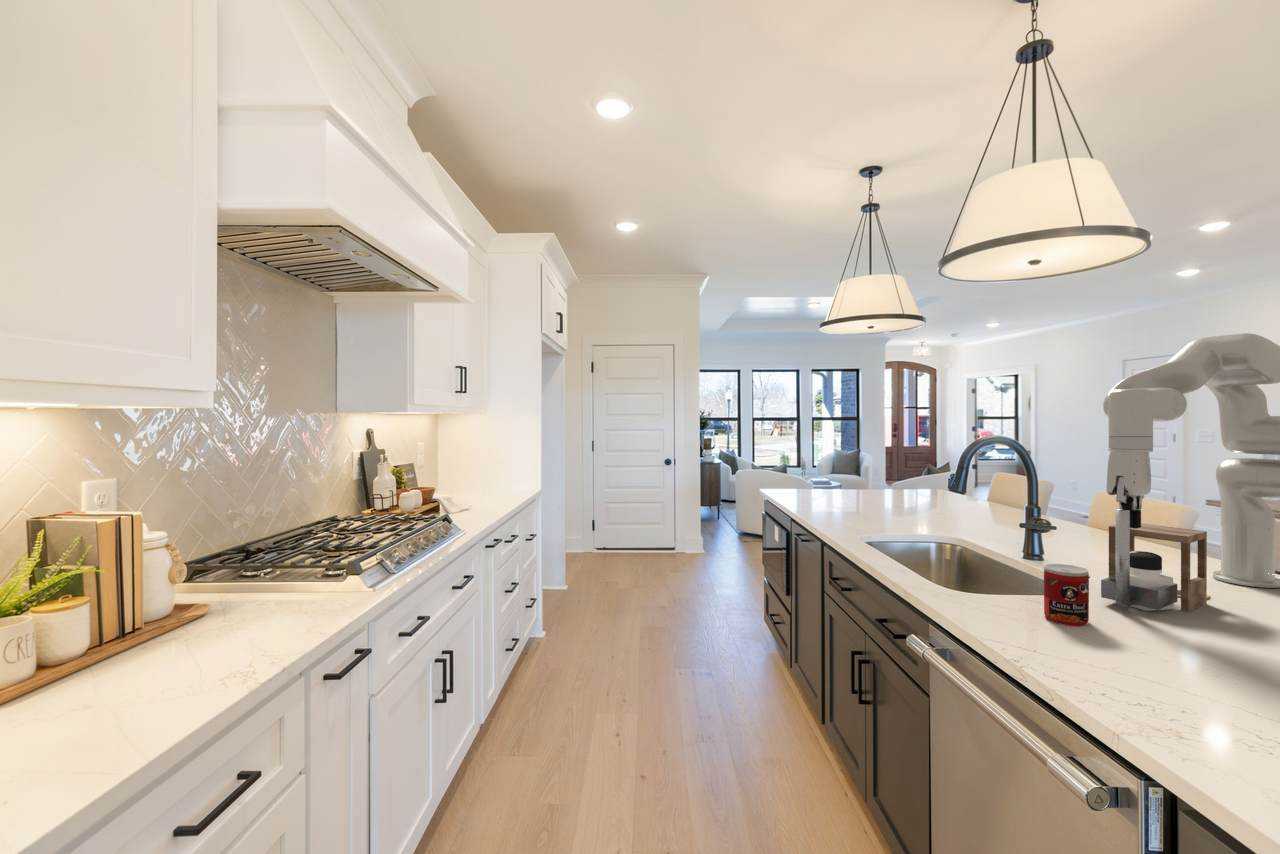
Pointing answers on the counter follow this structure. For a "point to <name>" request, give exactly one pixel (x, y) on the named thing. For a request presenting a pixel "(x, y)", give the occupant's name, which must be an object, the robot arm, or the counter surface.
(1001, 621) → the counter surface
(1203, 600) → the walnut tunnel
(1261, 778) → the counter surface
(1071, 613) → the canned food
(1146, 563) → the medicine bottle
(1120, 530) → the grey metal post stand
